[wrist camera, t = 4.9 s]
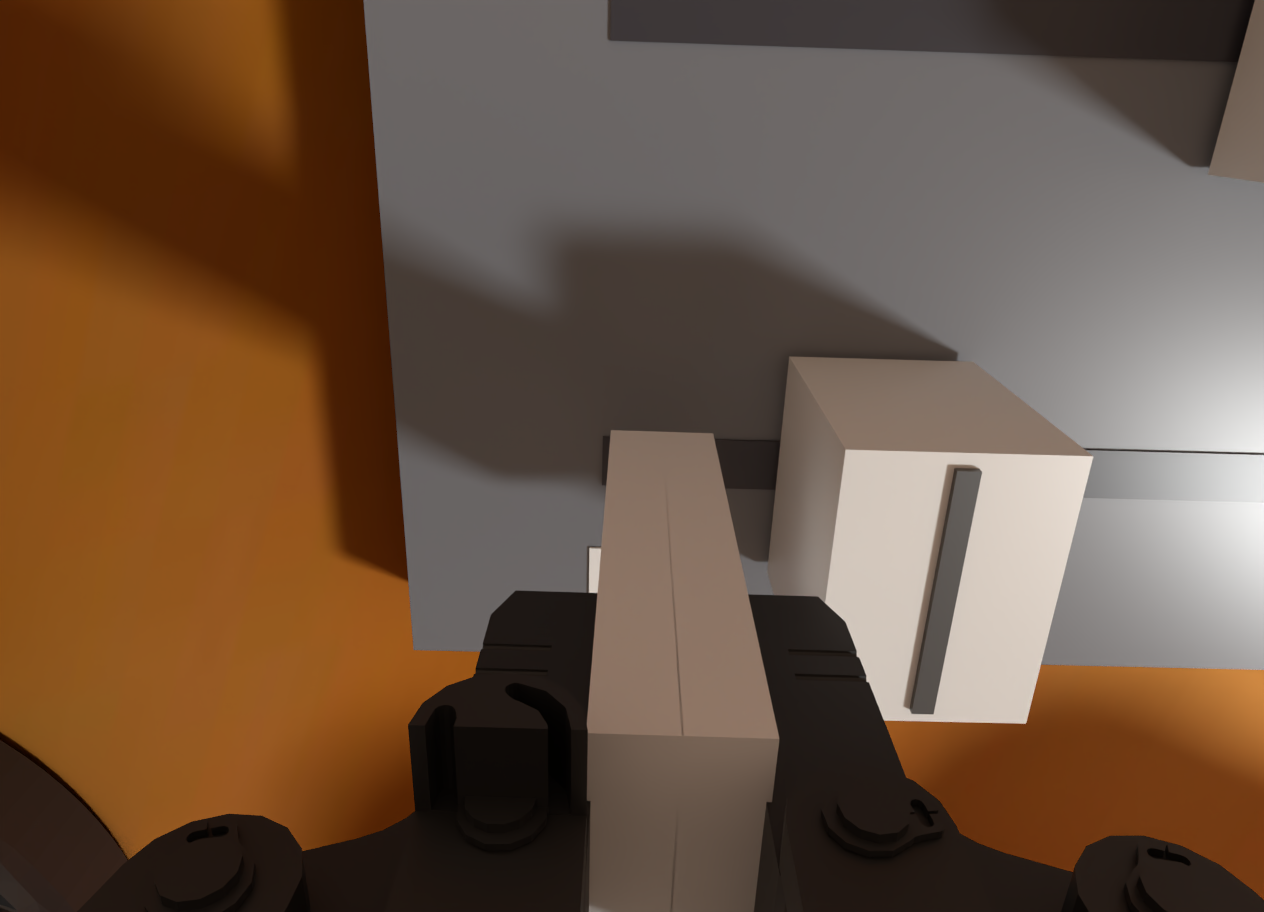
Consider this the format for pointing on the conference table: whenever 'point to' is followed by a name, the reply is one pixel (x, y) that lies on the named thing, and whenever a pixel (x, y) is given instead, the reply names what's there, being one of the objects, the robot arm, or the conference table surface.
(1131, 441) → the console
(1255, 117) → the fader
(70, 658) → the conference table surface
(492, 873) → the robot arm
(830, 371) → the block
